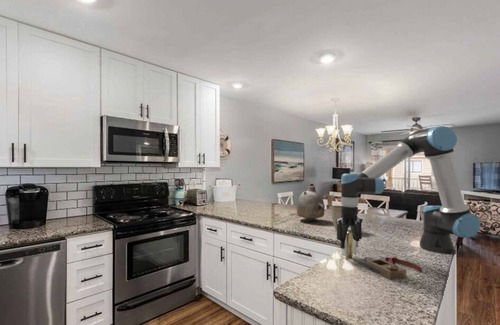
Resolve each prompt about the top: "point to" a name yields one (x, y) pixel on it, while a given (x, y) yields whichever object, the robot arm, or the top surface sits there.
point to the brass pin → (349, 244)
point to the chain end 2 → (387, 269)
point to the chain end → (363, 262)
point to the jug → (310, 204)
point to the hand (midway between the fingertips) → (349, 254)
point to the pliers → (400, 262)
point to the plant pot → (336, 214)
